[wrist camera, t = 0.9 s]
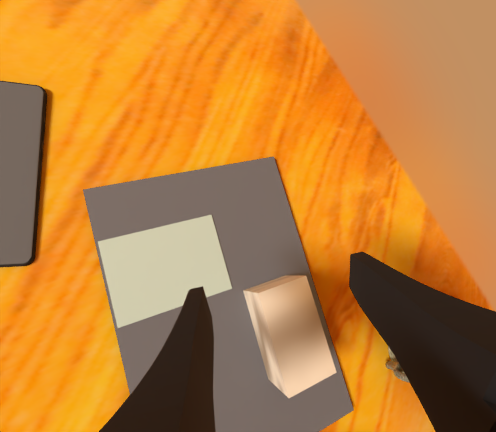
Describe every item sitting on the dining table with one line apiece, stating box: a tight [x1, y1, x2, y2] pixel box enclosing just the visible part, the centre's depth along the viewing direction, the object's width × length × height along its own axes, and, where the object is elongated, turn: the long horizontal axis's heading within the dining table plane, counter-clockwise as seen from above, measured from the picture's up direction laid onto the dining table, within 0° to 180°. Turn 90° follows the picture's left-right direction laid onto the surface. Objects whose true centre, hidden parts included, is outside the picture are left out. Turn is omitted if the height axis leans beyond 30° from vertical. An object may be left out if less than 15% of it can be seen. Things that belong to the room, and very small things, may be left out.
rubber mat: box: [83, 157, 354, 432], centre depth 24 cm, size 26×18×1 cm
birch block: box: [243, 275, 337, 398], centre depth 23 cm, size 8×4×4 cm, turn 17°
